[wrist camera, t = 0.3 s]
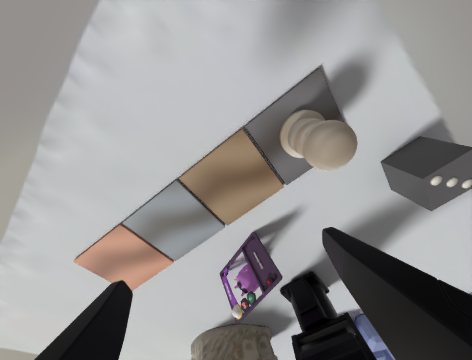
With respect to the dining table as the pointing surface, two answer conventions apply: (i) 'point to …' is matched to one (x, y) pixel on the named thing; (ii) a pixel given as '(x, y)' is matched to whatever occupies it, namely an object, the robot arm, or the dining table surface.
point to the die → (430, 171)
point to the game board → (209, 193)
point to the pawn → (318, 140)
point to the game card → (251, 276)
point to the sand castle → (234, 344)
